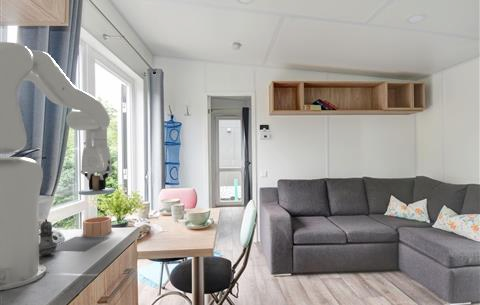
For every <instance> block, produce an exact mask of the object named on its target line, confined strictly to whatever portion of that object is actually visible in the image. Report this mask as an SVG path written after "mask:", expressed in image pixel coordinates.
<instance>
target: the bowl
mask: <svg viewBox="0 0 480 305" xmlns="http://www.w3.org/2000/svg"><path fill="white" fill-rule="evenodd" d="M111 232H112V217H110V216H95V217H90V218H86V219H84V220H83V221H82V235H83V236H84V237H100V236H105V235H106V234H110V233H111Z"/></svg>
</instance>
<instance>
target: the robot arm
mask: <svg viewBox="0 0 480 305" xmlns="http://www.w3.org/2000/svg"><path fill="white" fill-rule="evenodd" d="M23 81H24V82H25V81H30V82H31V83H33V84H34V86H36V87H37V88H38V89H39V91H41V93H42V94H44V96H45V97H46V98H47V100H49V101H50V102H51V103H53V104H55V105H58V106H61V107H65V108H68V109H73V110H71V111H70V112H68V114H67V115H66V117H65V122H66V124H67V126H68V127H69V128H70V129H72V130H74V131H85V141H83V145H84V146H85V147H84V148H83V150H82V156H81V170H80V174H82V175H84V176H85V178H87V181H88V189H89V190H92V176H93V175H96V173H98V175H100V180H99V190H103V189H105V188H107V182H106V180H107V179H108V177H110V175H111V176H112V174H114V169H113V168H112V159H111V153H110V148H109V147H108V128H109V127H110V126H109V125H110V121H111V119H110V115H109V112H108V111H107V110H106V108H105V106H104V105H103V104H102V103H101V101H100V100H98V99H97V98H96V97H94V96H93V95H91V94H89V93H87V91H86V92H85V91H83V90H82V89H79V88H78V87H76V86H75V85H74V84H73V83H72V82H71V81H70V79H69V78H68V77H67V76H66V74H65V73H64V72H63V70H62V69H61V68H60V66H59V65H58V64H57V63H56V61H55V60H54V58H53V57H51V55H50V54H49V53H47V52H45V51H42V50H37V49H29V48H28V47H27V46H25V45H23V44H20V43H17V42H10V41H9V42H7V41H0V154H4V155H6V154H13V153H17V152H20V151H22V150H23V149H24V148H25V147H26V145H27V143H28V142H27V138H28V137H27V134H26V133H27V132H26V129H25V125H24V124H25V123H24V120H23V116H22V112H21V108H20V103H19V98H18V97H19V95H18V92H19V89H20V87H21V85H22V83H23ZM43 179H44V170H43V167H42V165H41V164H40V163H39V162H38V161H36V160H34V159H32V158H29V157H23V156H0V291H3V290H9V289H15V288H18V287H22V286H24V285H25V286H26V285H28V284H30V283H34V282H35V281H37V280H39V279H40V278H42V277H43V276H45V275H46V273H47V267H46V265H44V264H42V263H40V258H39V256H40V255H39V244H40V235H39V234H40V230H39V229H40V227H39V226H40V220H39V219H40V218H39V217H40V212H39V207H40V206H39V204H40V193H41V188H42V183H43Z"/></svg>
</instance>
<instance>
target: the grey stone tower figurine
mask: <svg viewBox="0 0 480 305" xmlns="http://www.w3.org/2000/svg"><path fill="white" fill-rule="evenodd" d="M52 228H53V226H52V222H51V221H48V219H47V218H45V219H44V221H43V222H42V223H41V224H40V232H39V259H46V258H51V257H53V256H55V255H56V253H55V250H56V247H57V245H58V244H59V243H58V242H56V241H55V242H54V241H53V234H54V231H53V229H52Z"/></svg>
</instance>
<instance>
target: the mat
mask: <svg viewBox="0 0 480 305" xmlns="http://www.w3.org/2000/svg"><path fill="white" fill-rule="evenodd" d="M110 238H111V237H110V236H109V237H108V236H107V237H106V236H74V237H71V238H70V239H66V240H65V241H63V243H62V242H61V243H62V244H60V243H59V244H60V245H58V246H57V247H56V250H55V251H56V252H82V253H83V252H84V253H85V252H87V251H89V250H91V249H92V248H93V247H96V246H97V245H99V244H101V243H103V242H105V241H107V240H108V239H110ZM55 251H54V252H55Z"/></svg>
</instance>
